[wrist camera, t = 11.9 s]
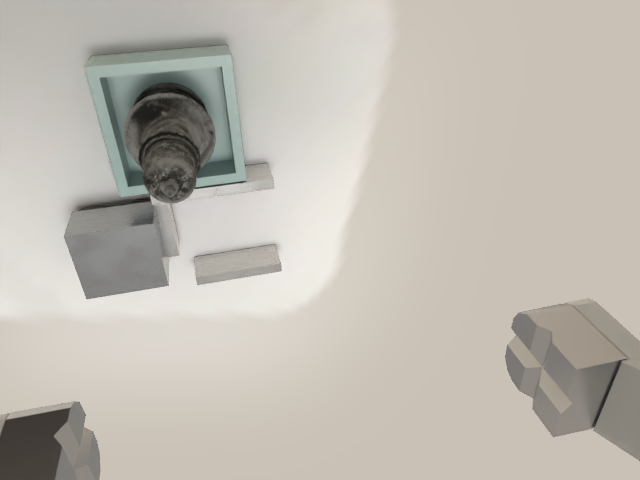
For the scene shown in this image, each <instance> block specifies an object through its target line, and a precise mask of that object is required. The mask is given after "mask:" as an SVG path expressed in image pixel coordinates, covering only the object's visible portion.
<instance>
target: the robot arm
mask: <svg viewBox="0 0 640 480" xmlns="http://www.w3.org/2000/svg"><path fill="white" fill-rule="evenodd" d="M512 330H513V331H514V332H515V334H516V336H515V337H514V338H513V339H512V340H511V341H510V342H509V344H508V345H507V350H506V356H505V358H506V364H507V369H508V372H509V375H510V377H511V379H512V381H513V382H514V384H515V385H516V387H517V388H518V390H519V391H521V392H522V393H524V394H526V395H528V396H530V397H532V398H533V410H534V412H535V413H536V414H537V416H538V417H539V418H540V420H541V421H542V423H543V424H544V425H545V427H546V428H547V429H548V430H549V432H550V433H551V435H552V436H553V437H556V436H561V435H566V434H570V433H575V432H579V431H584V430H588V429H593V428H594V431H595V432H596V433H598V434H600V435H601V436H602V437H604V438H606V439H607V440H609V441H610V442H612V443H613V444H615V445H616V446H618V447H619V448H621V449H623V450H624V451H626V452H627V453H629V454H630V455H632V456H633V457H635V458H636V459H638V460H639V461H640V341H639V340H638V339H636V338H635V337H634V336H633V335H632V334H631V333H630V332H629V331H628V330H627V329H626V328H624V327H623V326H622V325H621V324H620V323H619V322H618V321H617V320H616V319H614V318H613V317H612V316H611V315H610V314H609V313H608V312H607V311H606V310H605V309H603V308H602V307H601V306H600V305H599V304H598V303H597V302H595V301H593V300H591V299H588V298H587V299H582V300H577V301H573V302H568V303H564V304H558V305H553V306H548V307H543V308H539V309H534V310H529V311H525V312H520V313H518V314H517V315H516V316H515V317H514V319H513V323H512ZM85 416H86V414H85V412H84V410H83V408H82V406H81V404H80V402H68V403H62V404H57V405H51V406H45V407H39V408H34V409H28V410H22V411H17V412H12V413H9V414H3V415H0V480H99V478H100V453H99V449H98V444H97V440H96V438H95V435H94V433H93V431H90V430H88V429H86V428H85V427H84V422H85Z"/></svg>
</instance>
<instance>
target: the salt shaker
mask: <svg viewBox="0 0 640 480" xmlns="http://www.w3.org/2000/svg"><path fill="white" fill-rule="evenodd" d="M123 136H124V141H125V146H126V148H127V150H128V152H129V154H130V156H131V157H132V158H133V159H134V161H135V162H136V163H137V164H138V165H139V166H140V167H141V169H142V171H143V182H144V186H145V188H146V190H147V191H148V193H149V194H150V195H151V196H152V197H154V198H155V199H157V200H159V201H161V202H165V203H178V202H181V201H183V200H185V199H187V198H188V197H189V196H190V195H191V194H192V193H193V191H194V189H195V187H196V181H197V179H196V175H197V174H198V172H199V170H200V169H201V168H202V167H203V166H204V165H205V164H206V163H207V162H208V161H209V159H210V157H211V155H212V153H213V151H214V148H215V142H216V135H215V127H214V125H213V122H212V120H211V117H210V116H209V115H208V112H207V110H206V107H205V105H204V103H203V102H202V100H201V99H200V97H199V96H198V95H197V94H196V93H194V92H193V91H192V90H191V89H189V88H187V87H185V86H183V85H180V84H175V83H159V84H156V85H153V86H150V87H149V88H147V89H146V90H144V91H143V92H142V93H141V94H140V95H139V97H138V98H137V99H136V101H135V104H134V106H133V108H132V109H131V110H130V111H129V113H128V116H127V118H126V120H125V123H124V132H123Z"/></svg>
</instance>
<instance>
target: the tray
mask: <svg viewBox="0 0 640 480" xmlns="http://www.w3.org/2000/svg"><path fill="white" fill-rule="evenodd" d="M84 69H85V72H86V76H87V79H88V83H89V87H90V90H91V94H92V97H93V101H94V105H95V108H96V112H97V116H98V119H99V123H100V126H101V130H102V134H103V137H104V141H105V145H106V148H107V152H108V155H109V159H110V163H111V166H112V170H113V174H114V177H115V181H116V184H117V188H118V192H119V195H120V197H126V196H134V195H141V194H149V193H148V191H147V190H146V188H145V186H144V182H143V171H142V169H141V167H140V166H139V165H138V164H137V163H136V162H135V161H134V159H133V158H132V157H131V156H130V154H129V152H128V150H127V148H126V146H125V141H124V136H123V132H124V123H125V120H126V118H127V116H128V113H129V111H130V110H131V109H132V108H133V106H134V104H135V101H136V99H137V98H138V97H139V95H140V94H141V93H142V92H143V91H144V90H146V89H147V88H149V87H150V86H153V85H156V84H159V83H175V84H180V85H183V86H185V87H187V88H189V89H191V90H192V91H193V92H194V93H196V94H197V95H198V96H199V97H200V99H201V100H202V102H203V103H204V105H205V107H206V110H207V112H208V115H209V116H210V117H211V120H212V122H213V125H214V127H215V135H216V142H215V148H214V151H213V153H212V155H211V157H210V159H209V161H208V162H207V163H206V164H205V165H204V166H203V167H202V168H201V169H200V170H199V172H198V174H197V175H196V179H197V181H196V187H202V186H209V185H217V184H224V183H232V182H239V181H247V179H246V171H245V162H244V154H243V146H242V138H241V129H240V121H239V113H238V105H237V96H236V88H235V80H234V72H233V63H232V55H231V52H230V50H229V48H228V45H217V46H205V47H193V48H181V49H169V50H157V51H145V52H133V53H121V54H109V55H97V56H91V57H90V58H89V60H88V62H87V63H86V65H85V67H84Z"/></svg>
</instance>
